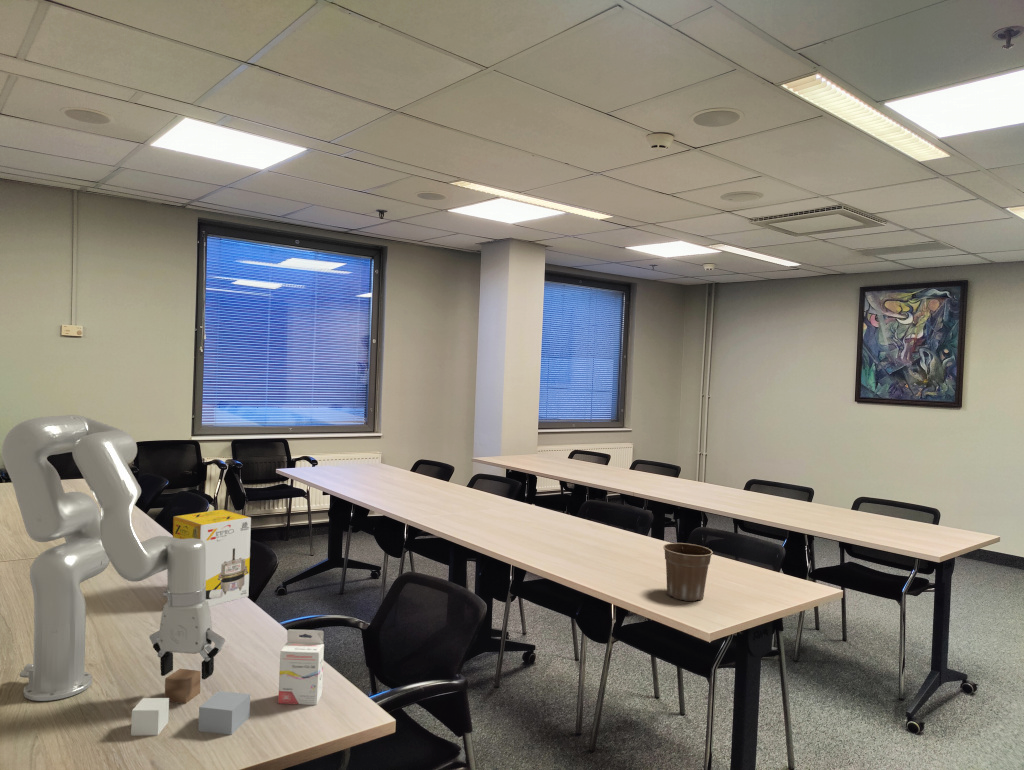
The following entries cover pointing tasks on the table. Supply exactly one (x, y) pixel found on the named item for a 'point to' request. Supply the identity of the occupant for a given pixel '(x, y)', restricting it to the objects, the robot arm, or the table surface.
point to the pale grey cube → (150, 716)
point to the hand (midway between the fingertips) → (187, 675)
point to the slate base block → (224, 712)
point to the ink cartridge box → (301, 668)
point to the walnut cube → (182, 685)
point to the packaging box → (220, 551)
